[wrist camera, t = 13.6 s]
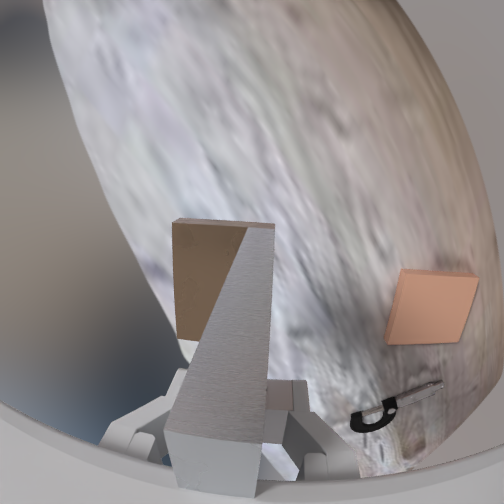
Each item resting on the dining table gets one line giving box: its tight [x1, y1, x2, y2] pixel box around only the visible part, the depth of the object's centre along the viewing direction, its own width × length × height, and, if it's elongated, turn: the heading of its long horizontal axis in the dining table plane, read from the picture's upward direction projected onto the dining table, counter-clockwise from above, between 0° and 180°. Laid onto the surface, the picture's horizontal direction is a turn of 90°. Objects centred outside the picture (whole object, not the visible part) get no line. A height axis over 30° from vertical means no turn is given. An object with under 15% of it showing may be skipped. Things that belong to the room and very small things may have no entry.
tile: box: [384, 269, 479, 345], centre depth 31 cm, size 9×2×11 cm
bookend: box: [163, 218, 275, 498], centre depth 13 cm, size 8×6×16 cm
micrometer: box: [350, 380, 444, 433], centre depth 36 cm, size 15×7×2 cm, turn 110°
